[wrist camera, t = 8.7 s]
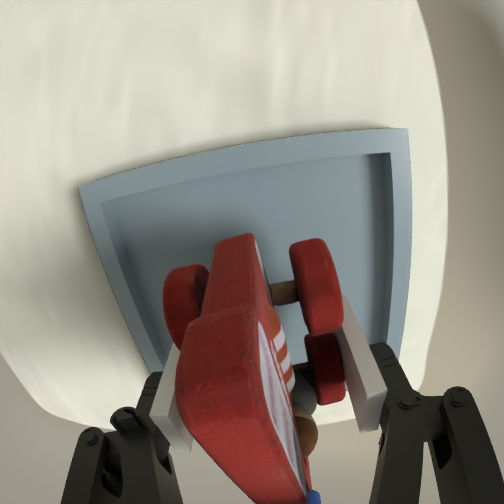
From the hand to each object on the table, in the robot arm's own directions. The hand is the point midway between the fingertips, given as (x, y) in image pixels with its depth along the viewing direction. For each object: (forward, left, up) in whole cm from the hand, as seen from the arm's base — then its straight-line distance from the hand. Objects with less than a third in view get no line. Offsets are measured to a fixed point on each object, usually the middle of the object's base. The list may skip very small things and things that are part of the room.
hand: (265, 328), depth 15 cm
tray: (0, 0, -4) cm, 4 cm away
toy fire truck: (0, 0, -1) cm, 1 cm away
